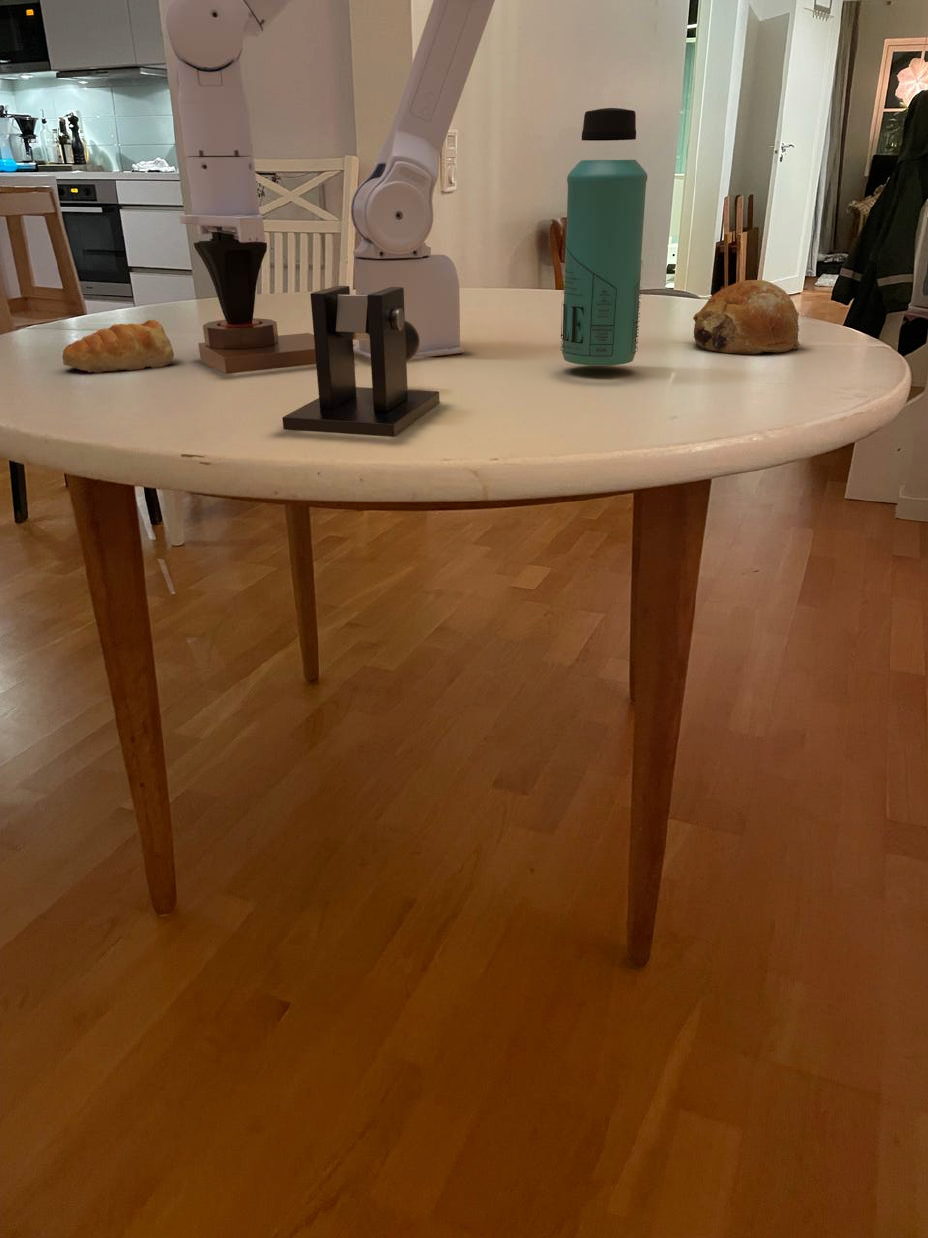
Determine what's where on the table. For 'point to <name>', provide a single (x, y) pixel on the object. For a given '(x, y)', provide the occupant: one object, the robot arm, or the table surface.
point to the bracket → (338, 395)
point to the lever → (366, 322)
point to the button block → (254, 347)
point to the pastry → (121, 348)
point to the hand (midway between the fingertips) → (239, 322)
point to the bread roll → (748, 320)
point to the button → (240, 324)
